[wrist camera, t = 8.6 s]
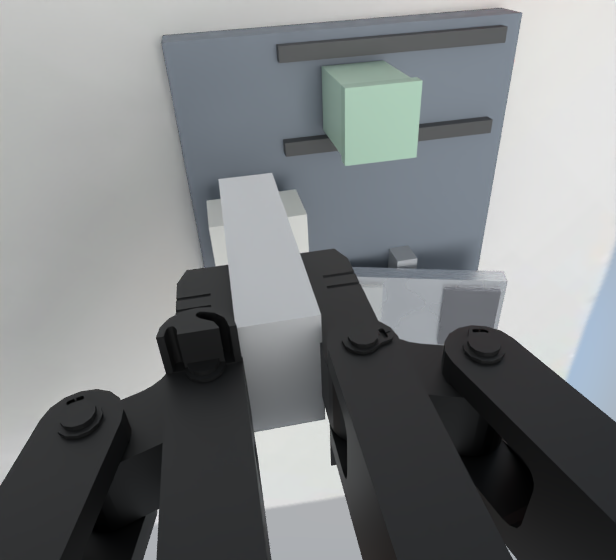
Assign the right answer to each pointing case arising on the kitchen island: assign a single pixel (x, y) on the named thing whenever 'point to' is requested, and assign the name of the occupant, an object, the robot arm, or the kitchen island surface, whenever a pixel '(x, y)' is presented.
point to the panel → (319, 148)
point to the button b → (294, 214)
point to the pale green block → (371, 111)
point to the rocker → (433, 300)
